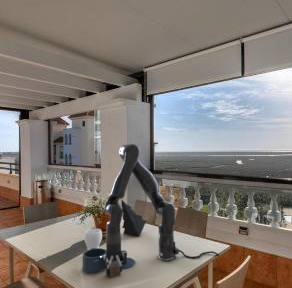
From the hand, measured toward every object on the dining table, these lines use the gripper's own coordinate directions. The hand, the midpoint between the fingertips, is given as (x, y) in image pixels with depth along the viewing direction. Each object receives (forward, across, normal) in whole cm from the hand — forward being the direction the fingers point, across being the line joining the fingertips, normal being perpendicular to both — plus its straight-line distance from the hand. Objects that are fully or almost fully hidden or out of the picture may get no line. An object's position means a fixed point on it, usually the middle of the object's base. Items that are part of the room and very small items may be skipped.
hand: (114, 273), depth 127 cm
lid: (0, -7, -10) cm, 12 cm away
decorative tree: (+1, -23, -54) cm, 59 cm away
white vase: (+1, +7, -30) cm, 31 cm away
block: (0, 0, 0) cm, 0 cm away
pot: (+1, +8, -12) cm, 14 cm away
